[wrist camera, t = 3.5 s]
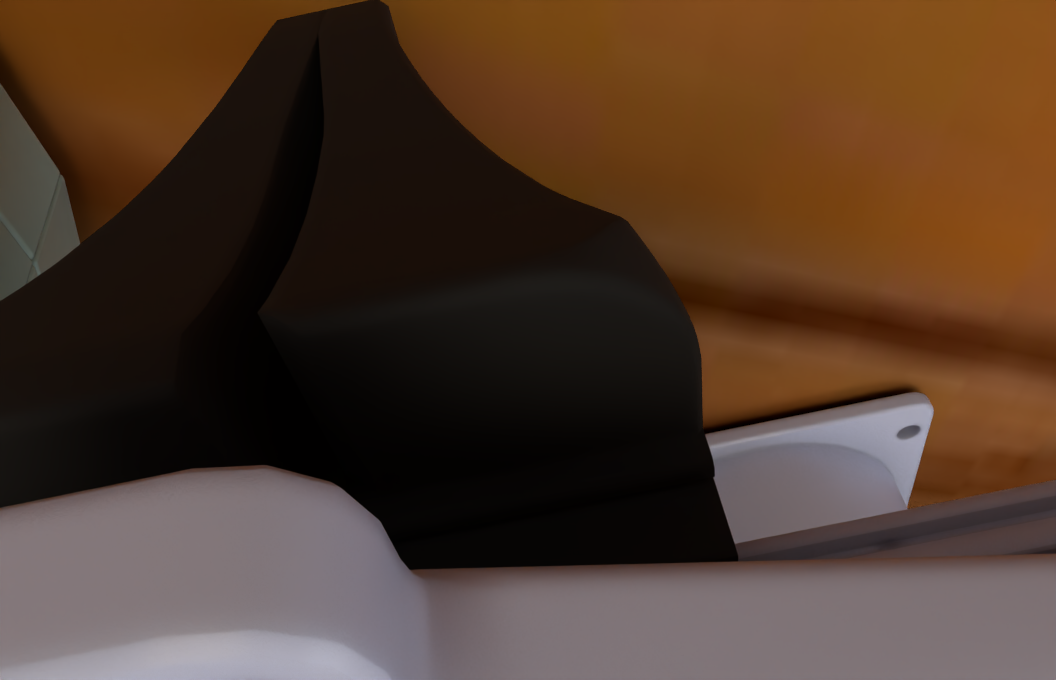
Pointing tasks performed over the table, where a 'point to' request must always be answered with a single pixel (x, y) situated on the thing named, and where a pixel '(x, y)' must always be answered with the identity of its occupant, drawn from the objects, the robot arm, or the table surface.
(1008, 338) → the table surface
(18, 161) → the bowl
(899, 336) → the table surface
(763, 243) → the table surface
